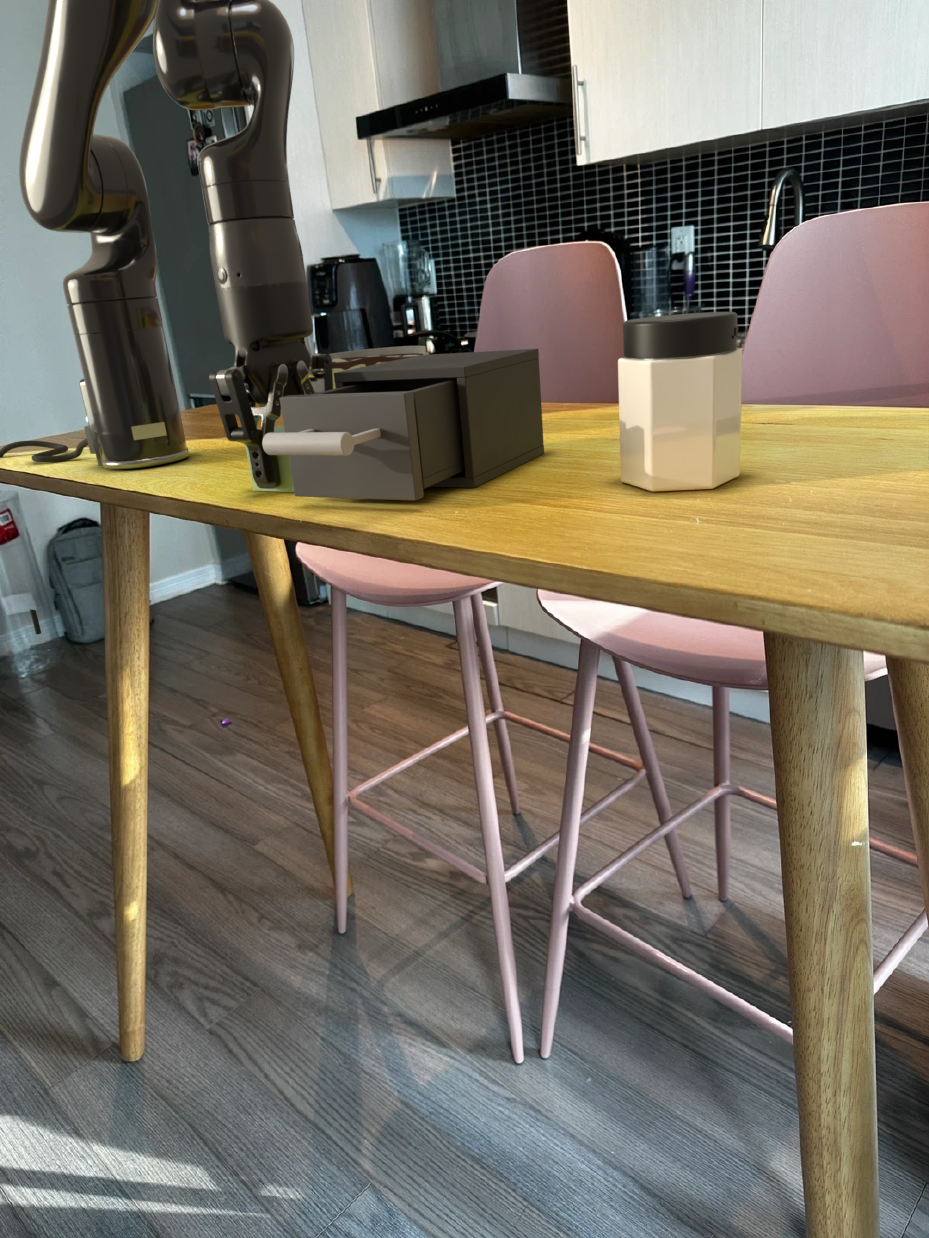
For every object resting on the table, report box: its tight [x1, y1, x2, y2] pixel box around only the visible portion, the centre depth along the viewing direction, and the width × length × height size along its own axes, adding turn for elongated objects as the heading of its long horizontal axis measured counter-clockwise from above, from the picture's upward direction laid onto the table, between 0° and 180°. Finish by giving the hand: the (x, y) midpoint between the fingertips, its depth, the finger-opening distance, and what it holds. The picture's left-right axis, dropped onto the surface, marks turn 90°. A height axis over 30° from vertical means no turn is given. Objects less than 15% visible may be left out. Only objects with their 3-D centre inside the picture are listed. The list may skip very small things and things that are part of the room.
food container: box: [328, 345, 430, 389], centre depth 97 cm, size 12×6×10 cm, turn 84°
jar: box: [617, 311, 743, 492], centre depth 66 cm, size 9×8×12 cm
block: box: [245, 424, 294, 493], centre depth 79 cm, size 5×5×5 cm
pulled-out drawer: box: [263, 378, 465, 501], centre depth 70 cm, size 19×11×8 cm, turn 152°
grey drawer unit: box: [334, 348, 545, 489], centre depth 79 cm, size 15×13×10 cm
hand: (291, 479), depth 80 cm, fingers open, 5 cm apart
